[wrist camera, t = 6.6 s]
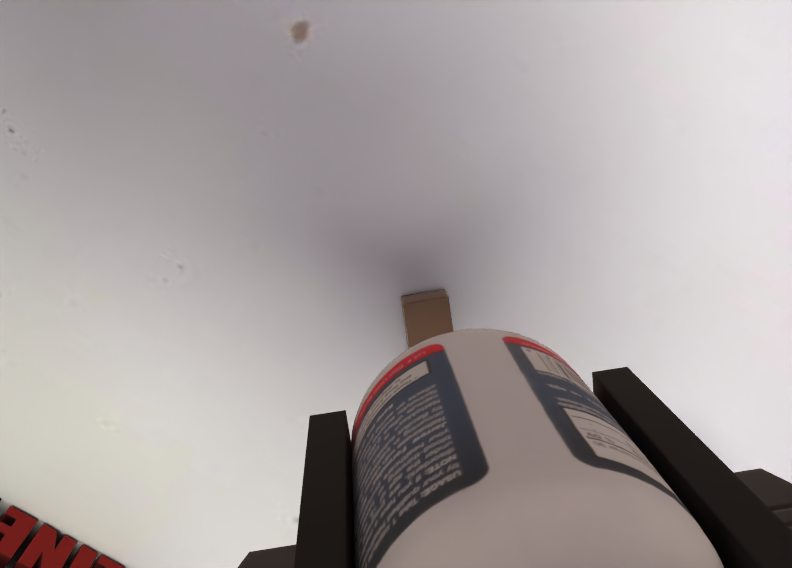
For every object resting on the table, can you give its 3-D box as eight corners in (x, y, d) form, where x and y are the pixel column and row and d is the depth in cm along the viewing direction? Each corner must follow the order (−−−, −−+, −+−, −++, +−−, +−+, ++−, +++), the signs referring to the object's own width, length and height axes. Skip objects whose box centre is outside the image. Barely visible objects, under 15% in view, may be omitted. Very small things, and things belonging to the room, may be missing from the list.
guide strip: (400, 296, 32) (402, 303, 31) (444, 288, 32) (448, 296, 31) (466, 716, 39) (470, 736, 37) (503, 710, 39) (508, 729, 37)
